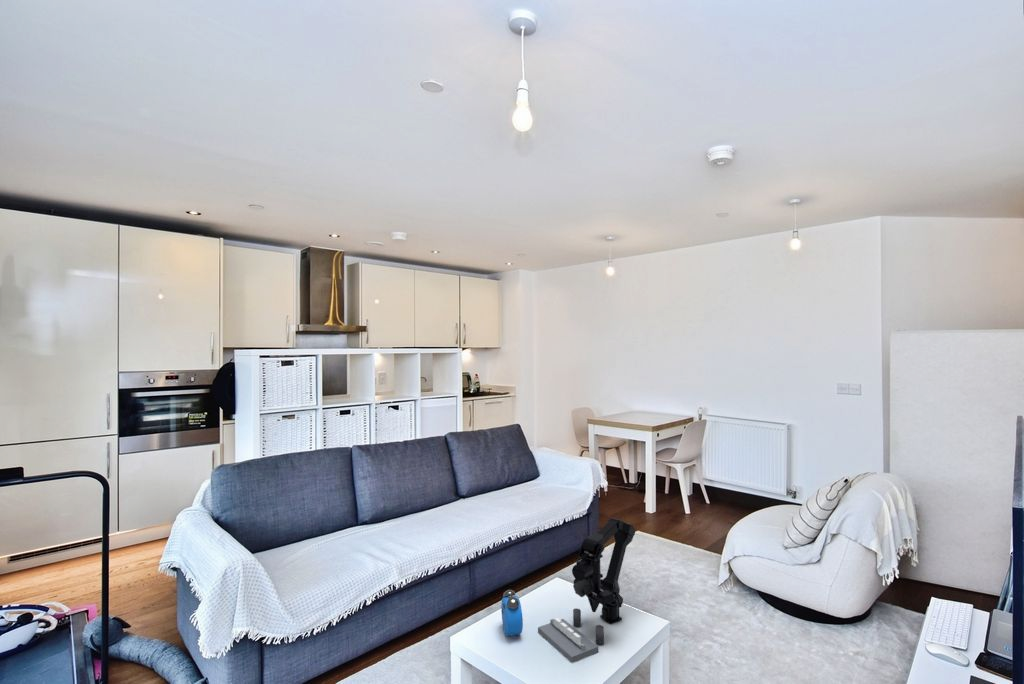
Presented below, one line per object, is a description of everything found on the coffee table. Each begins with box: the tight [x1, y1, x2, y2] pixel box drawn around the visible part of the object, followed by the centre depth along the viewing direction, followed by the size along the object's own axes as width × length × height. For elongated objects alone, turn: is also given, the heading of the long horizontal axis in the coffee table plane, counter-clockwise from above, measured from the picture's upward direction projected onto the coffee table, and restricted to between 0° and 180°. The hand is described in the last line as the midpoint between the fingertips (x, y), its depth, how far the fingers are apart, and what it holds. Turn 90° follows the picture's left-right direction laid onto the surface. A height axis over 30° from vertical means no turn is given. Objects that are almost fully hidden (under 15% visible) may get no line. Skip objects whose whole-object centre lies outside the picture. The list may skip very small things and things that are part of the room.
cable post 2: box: [595, 624, 605, 647], centre depth 182 cm, size 3×3×6 cm
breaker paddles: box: [552, 617, 581, 648], centre depth 183 cm, size 1×18×3 cm, turn 30°
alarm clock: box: [500, 589, 524, 637], centre depth 190 cm, size 13×6×15 cm, turn 12°
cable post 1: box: [572, 607, 582, 629], centre depth 194 cm, size 3×3×6 cm
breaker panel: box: [537, 618, 600, 664], centre depth 183 cm, size 12×22×4 cm, turn 30°
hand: (593, 611), depth 190 cm, fingers closed
